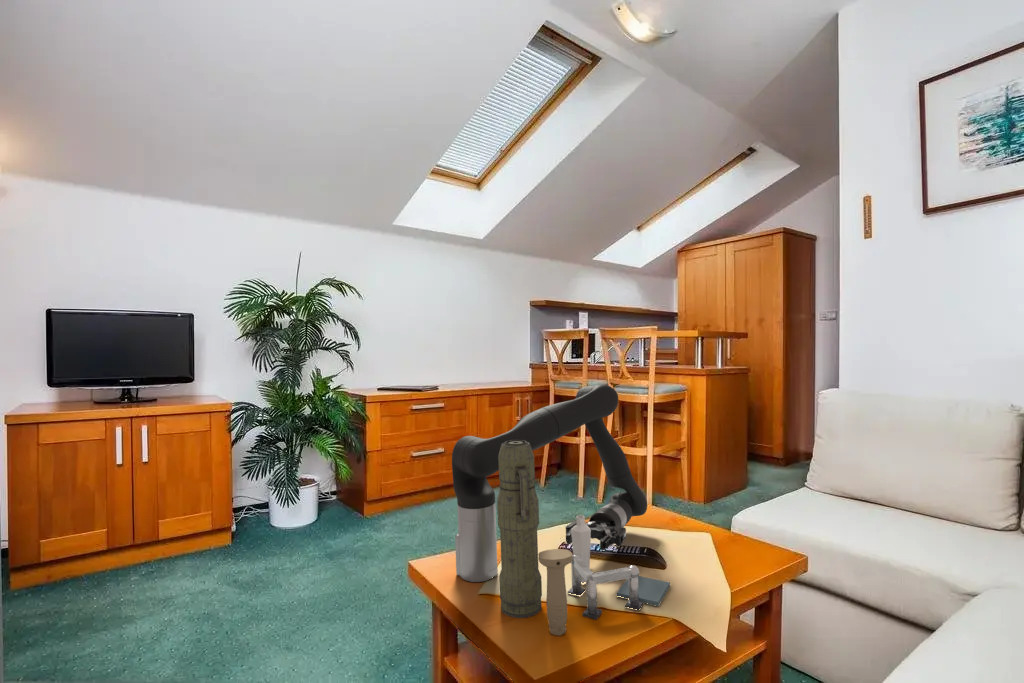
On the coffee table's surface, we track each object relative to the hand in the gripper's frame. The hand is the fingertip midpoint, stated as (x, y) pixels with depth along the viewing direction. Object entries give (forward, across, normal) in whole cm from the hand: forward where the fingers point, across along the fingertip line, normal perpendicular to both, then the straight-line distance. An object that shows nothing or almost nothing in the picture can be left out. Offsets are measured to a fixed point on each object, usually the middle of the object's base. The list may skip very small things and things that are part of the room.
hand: (584, 542), depth 122 cm
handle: (+24, +4, +8) cm, 25 cm away
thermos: (+19, -7, +8) cm, 22 cm away
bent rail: (+11, +8, +8) cm, 16 cm away
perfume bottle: (+2, 0, +8) cm, 9 cm away
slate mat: (+1, +14, +8) cm, 16 cm away
